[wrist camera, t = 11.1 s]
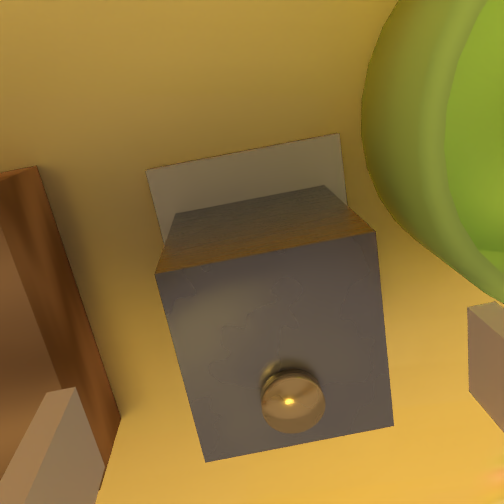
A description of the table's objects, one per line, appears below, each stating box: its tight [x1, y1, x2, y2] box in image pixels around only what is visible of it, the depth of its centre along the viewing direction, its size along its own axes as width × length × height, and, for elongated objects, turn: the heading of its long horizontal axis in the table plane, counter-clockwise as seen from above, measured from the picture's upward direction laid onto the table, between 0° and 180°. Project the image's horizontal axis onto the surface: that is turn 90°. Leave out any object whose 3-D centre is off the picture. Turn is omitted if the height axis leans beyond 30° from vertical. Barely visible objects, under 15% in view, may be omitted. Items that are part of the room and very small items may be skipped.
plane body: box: [0, 166, 121, 490], centre depth 18 cm, size 13×4×8 cm, turn 10°
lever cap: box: [155, 185, 394, 463], centre depth 18 cm, size 7×6×8 cm
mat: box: [145, 133, 348, 245], centre depth 22 cm, size 11×8×1 cm
